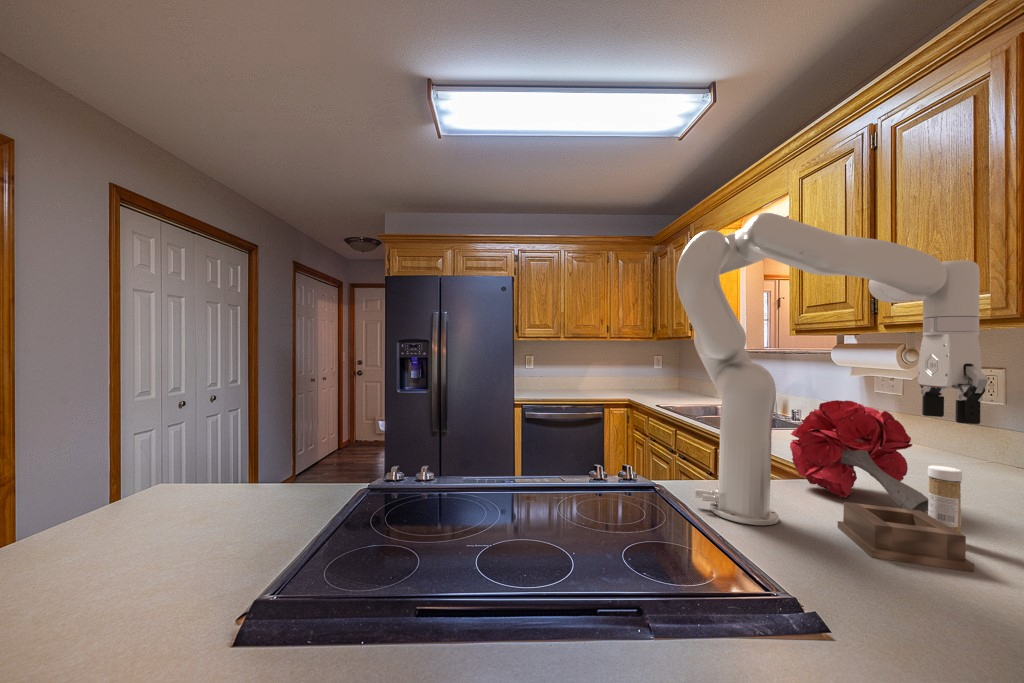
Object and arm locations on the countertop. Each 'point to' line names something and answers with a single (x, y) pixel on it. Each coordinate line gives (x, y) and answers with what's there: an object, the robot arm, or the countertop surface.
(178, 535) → the countertop surface
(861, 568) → the countertop surface
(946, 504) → the sprinkles bottle
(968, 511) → the countertop surface
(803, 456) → the bouquet
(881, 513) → the socket block
